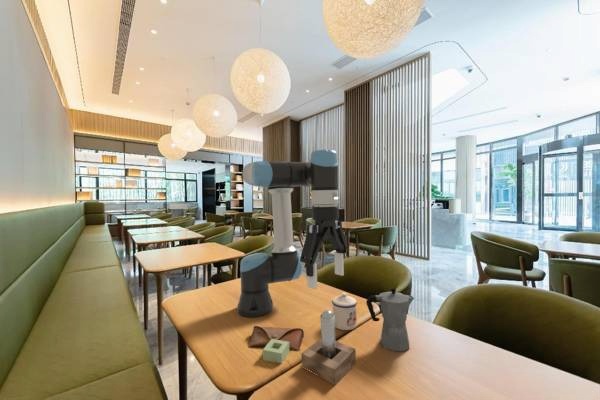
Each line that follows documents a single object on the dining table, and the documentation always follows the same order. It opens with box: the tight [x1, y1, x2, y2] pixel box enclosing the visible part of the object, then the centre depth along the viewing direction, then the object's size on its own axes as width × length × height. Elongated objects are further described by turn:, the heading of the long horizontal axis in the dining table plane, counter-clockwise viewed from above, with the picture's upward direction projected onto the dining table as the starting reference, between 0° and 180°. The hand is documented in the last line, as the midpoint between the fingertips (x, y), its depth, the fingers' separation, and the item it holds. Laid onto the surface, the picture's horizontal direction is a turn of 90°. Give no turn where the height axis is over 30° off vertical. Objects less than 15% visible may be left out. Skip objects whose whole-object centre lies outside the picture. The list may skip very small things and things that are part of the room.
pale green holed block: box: [262, 339, 290, 364], centre depth 77 cm, size 6×6×3 cm
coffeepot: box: [365, 287, 415, 353], centre depth 81 cm, size 15×9×18 cm, turn 90°
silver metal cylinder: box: [320, 309, 336, 360], centre depth 72 cm, size 4×4×16 cm
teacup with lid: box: [331, 292, 358, 331], centre depth 95 cm, size 12×9×12 cm
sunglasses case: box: [247, 325, 305, 351], centre depth 84 cm, size 18×7×7 cm
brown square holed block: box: [301, 338, 357, 386], centre depth 72 cm, size 11×11×4 cm
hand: (326, 280), depth 72 cm, fingers open, 13 cm apart
